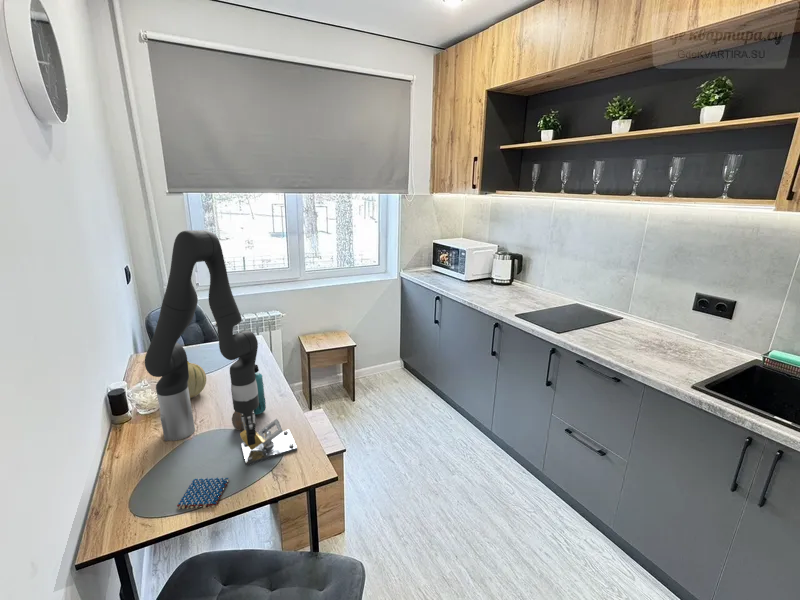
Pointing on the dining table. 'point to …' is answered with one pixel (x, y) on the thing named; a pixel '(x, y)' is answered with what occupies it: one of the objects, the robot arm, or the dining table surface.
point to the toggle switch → (269, 448)
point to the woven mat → (203, 493)
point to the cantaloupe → (196, 379)
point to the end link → (260, 437)
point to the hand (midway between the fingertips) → (250, 440)
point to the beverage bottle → (260, 392)
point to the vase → (237, 421)
